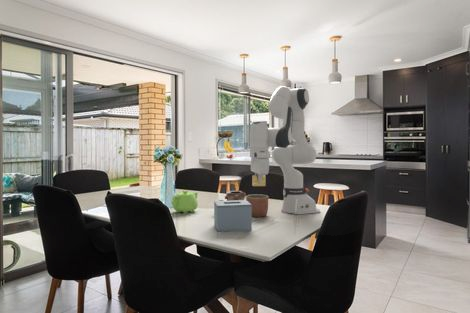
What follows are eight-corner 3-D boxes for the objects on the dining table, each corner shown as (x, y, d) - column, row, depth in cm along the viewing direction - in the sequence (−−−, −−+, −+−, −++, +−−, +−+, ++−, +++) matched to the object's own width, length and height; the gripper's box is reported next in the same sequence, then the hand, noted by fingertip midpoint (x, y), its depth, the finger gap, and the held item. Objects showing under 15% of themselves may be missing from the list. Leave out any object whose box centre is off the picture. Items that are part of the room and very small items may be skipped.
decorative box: (217, 208, 197) (217, 193, 197) (231, 203, 215) (231, 188, 215) (236, 210, 192) (236, 194, 191) (249, 204, 210) (249, 189, 209)
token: (264, 185, 156) (264, 175, 156) (265, 185, 153) (265, 175, 153) (252, 185, 155) (252, 175, 154) (253, 186, 152) (253, 175, 152)
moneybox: (246, 223, 160) (245, 199, 160) (251, 230, 148) (251, 204, 148) (214, 225, 157) (214, 201, 157) (217, 231, 145) (217, 205, 145)
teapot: (189, 207, 200) (189, 187, 200) (205, 210, 192) (205, 189, 192) (164, 213, 184) (164, 191, 184) (181, 216, 176) (180, 193, 176)
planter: (264, 212, 185) (264, 194, 184) (271, 217, 173) (271, 197, 172) (243, 213, 182) (243, 194, 182) (249, 218, 170) (249, 198, 170)
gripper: (247, 153, 163) (247, 180, 164) (258, 154, 143) (258, 185, 143) (259, 153, 164) (259, 179, 165) (271, 154, 144) (271, 184, 145)
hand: (258, 182), depth 154 cm, fingers closed on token, 2 cm apart
